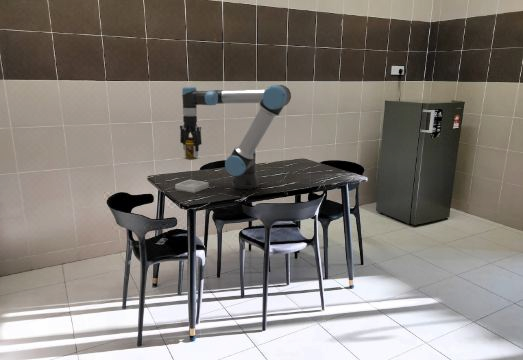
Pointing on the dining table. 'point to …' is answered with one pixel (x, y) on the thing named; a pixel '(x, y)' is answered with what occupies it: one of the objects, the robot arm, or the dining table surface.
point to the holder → (192, 186)
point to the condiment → (189, 149)
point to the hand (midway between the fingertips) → (191, 156)
